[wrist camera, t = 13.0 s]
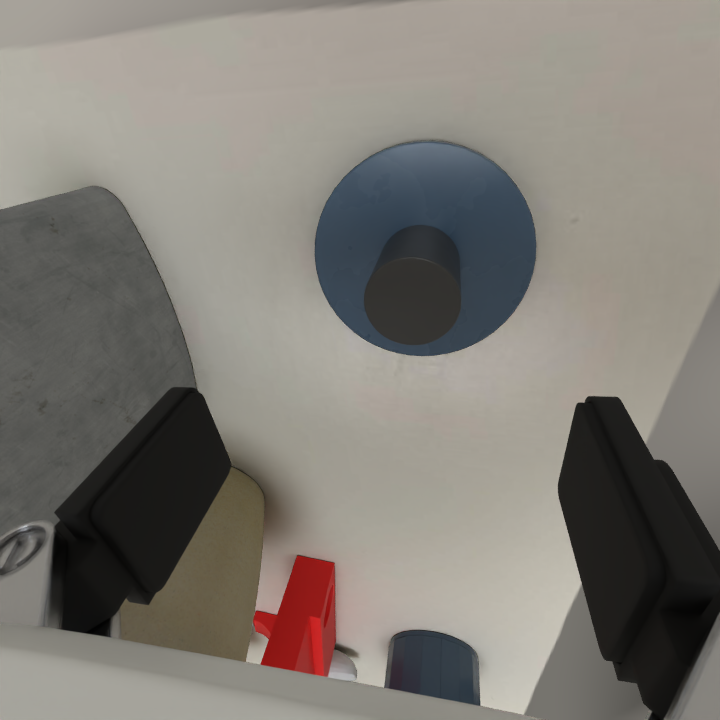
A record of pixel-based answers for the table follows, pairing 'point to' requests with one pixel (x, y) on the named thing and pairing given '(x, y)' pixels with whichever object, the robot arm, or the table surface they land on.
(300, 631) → the bracket
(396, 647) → the canister
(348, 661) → the game controller
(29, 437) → the hip flask
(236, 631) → the plant pot
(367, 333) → the lid
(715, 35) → the table surface
